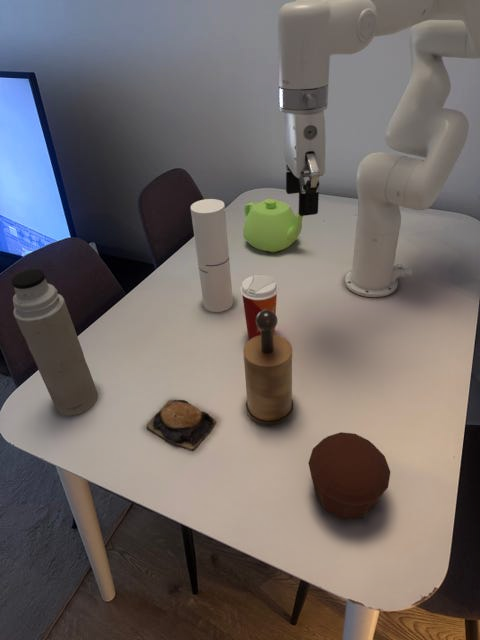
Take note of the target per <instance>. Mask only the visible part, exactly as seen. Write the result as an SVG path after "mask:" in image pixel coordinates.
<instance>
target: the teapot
mask: <svg viewBox="0 0 480 640" xmlns="http://www.w3.org/2000/svg"><path fill="white" fill-rule="evenodd" d="M244 215H245V220H244V224H243V232H242V233H243V237H244V239H245V241H246V242H247V243H248V244H249V245H250V246H252V247H253V248H255V249H257V250H262V251H265V252H266V251H267V252H269V253H278V251H283V250H285V249H287V248H289V247H290V246H291V245H292V244H294V243H295V241H296V240H298V237H299V235H300V234H301V232H302V227H303V218H304V216H300V215H299V212H297V214H295V213H294V211H293V209H292V208H291V206H290V205H289V204H288V203H286V202H284V201H280V200H277V199H275V198H267V199H265V200H262V201H259V202H257V203H256V202H253V201H251V202H250V201H249V202H248V203H246V204H245V205H244Z"/></svg>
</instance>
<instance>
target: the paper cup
mask: <svg viewBox="0 0 480 640" xmlns="http://www.w3.org/2000/svg"><path fill="white" fill-rule="evenodd" d="M239 292H240V294H241V295H242V296H241V297H242V302H243V303H242V304H243V309H244V318H245V323H246V329H247V331H246V332H247V338H248V341H249V340H250V339H252V338H254V337H256V336H259V335H261V330H260V329H259V328H258V326H257V325H256V316H257V315H258V313H259V312H261V311H262V310H271V311H273V312H274V313H275V314H276V315H277V298H278V292H279V286H278V283H277V282H276V280H275V279H274V278H273V277H271V276H269V275H266V274H254V275H251V276H248V277H246V278H245V279H243V281H242V283H241V285H240V288H239ZM275 332H276V327H275V328H274V329H273V335H276V334H275Z"/></svg>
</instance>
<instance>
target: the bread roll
mask: <svg viewBox="0 0 480 640" xmlns="http://www.w3.org/2000/svg"><path fill="white" fill-rule="evenodd" d="M216 424H217V420H216V418H214V417H212V416H211V415H210V414H209V413H208V412H206V411H202V410H200V409H199V408H198V407H196V406H194V405H193V404H191V403H190V402H188V401H187V400H185V399H170V400H168V401H167V402H166V403H165V404H164V405H163V406H162V408H160V409H159V411H158V412H157V413H156V414H154V416H153V417H152V418H151V419H150V420H149V421H148V422H147V424H146V428H147V430H149V431H150V432H152V433H154V434H155V435H157V436H158V437H160V438H162V439H164V440H165V441H168V442H170V443H172V444H175V445H176V446H179V447H181V448H184V449H186V450H189V451H192V452H193V451H194V450H196V449H197V448H198V447H199V446H200V445H201V443H202V442H203V441H204V440H205V439H206V436H207V435H209V434H210V433H211V430H212V429H213V428H214V426H215V425H216Z"/></svg>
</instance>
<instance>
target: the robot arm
mask: <svg viewBox="0 0 480 640" xmlns="http://www.w3.org/2000/svg"><path fill="white" fill-rule="evenodd" d="M277 15H278V16H277V45H278V46H277V51H278V53H277V55H278V110H279V112H281V113H284V116H283V118H284V121H283V123H284V126H283V133H284V134H283V153H284V161H285V163H286V165H285V167H286V168H285V169H286V171H285V192H286V194H287V195H294V194H298V213H299V215H300V216H303V217H305V216H313V215H318V214H319V200H320V199H319V197H320V177H322V176H324V175H325V173H326V119H325V110H327V109H328V104H329V103H328V101H329V84H330V82H329V81H330V63H331V56H334V55H353V54H357V53H360V52H361V51H363V50H364V49H366V48H367V47H368V46H369V45H370V43H371V42H372V40H374V38H375V37H383V36H389V35H390V36H391V35H394V34H398V33H399V32H402V31H404V30H406V29H408V28H410V33H409V48H410V49H409V50H410V77H409V81H408V83H407V85H406V88H405V90H404V93H403V94H402V96H401V98H400V100H399V103H398V104H397V107H396V109H395V110H394V112H393V115H392V117H391V118H390V120H389V123H388V124H387V127H386V129H385V134H384V142H385V143H386V146H387V147H389V148H390V149H391V150H393V151H395V152H399V153H402V154H405V155H401V154H396V153H391V152H385V151H377V152H376V151H375V152H372V153H370V154H368V155H366V156H365V157H364V158H363V159H361V161H360V163H359V164H358V167H357V170H356V176H355V177H356V178H355V182H356V183H355V184H356V192H357V217H356V226H355V227H356V228H355V237H354V248H353V257H352V268H351V270H349V271H348V272H347V273H346V274H345V276H344V286H345V287H346V288H347V289H348V290H349V291H350V292H352V293H354V294H355V295H359V296H362V297H366V298H380V297H386V296H389V295H391V294H393V293H395V291H396V290H397V289H398V283H399V280H398V279H400V277H409V276H412V275H413V269H412V267H403V264H402V263H399V264H395V261H396V254H397V248H398V243H399V235H400V229H401V223H402V214H401V209H400V207H403V208H406V209H410V210H414V211H425V210H427V209H429V208H430V207H432V206H433V204H434V203H435V202H436V200H437V199H438V197H439V196H440V194H441V192H442V190H443V188H444V186H445V184H446V183H447V181H448V179H449V176H450V175H451V173H452V170H453V169H454V167H455V166H456V163H457V161H458V159H459V158H460V155H461V154H462V151H463V149H464V147H465V145H466V141H467V139H468V135H469V128H470V126H469V125H470V124H469V120H468V117H467V116H466V114H465V113H463V112H462V111H460V110H457V109H452V108H445V107H444V106H445V104H446V101H447V99H448V97H449V95H450V93H451V87H452V86H451V78H450V76H449V72H448V70H447V69H446V66H445V64H444V60H443V57H444V58H459V59H472V60H473V59H480V0H295V1H291V2H287V3H284V4H283V5H282V6H281V7H280V8H279V11H278V14H277ZM406 155H411V156H416V157H421V158H424V160H423V159H420V158H414V157H409V156H406ZM305 180H306V182H305Z"/></svg>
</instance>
